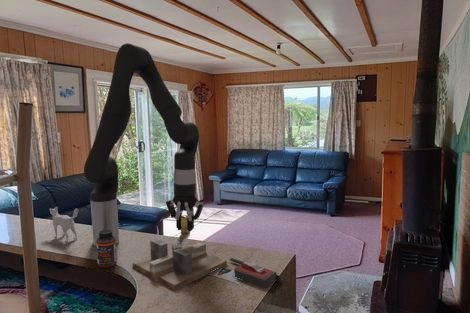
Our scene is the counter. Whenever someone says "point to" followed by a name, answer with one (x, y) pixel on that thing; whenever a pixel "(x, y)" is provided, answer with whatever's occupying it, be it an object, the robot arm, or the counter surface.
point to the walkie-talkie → (255, 273)
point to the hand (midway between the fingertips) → (185, 229)
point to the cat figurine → (63, 222)
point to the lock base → (177, 277)
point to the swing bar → (182, 233)
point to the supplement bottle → (106, 249)
